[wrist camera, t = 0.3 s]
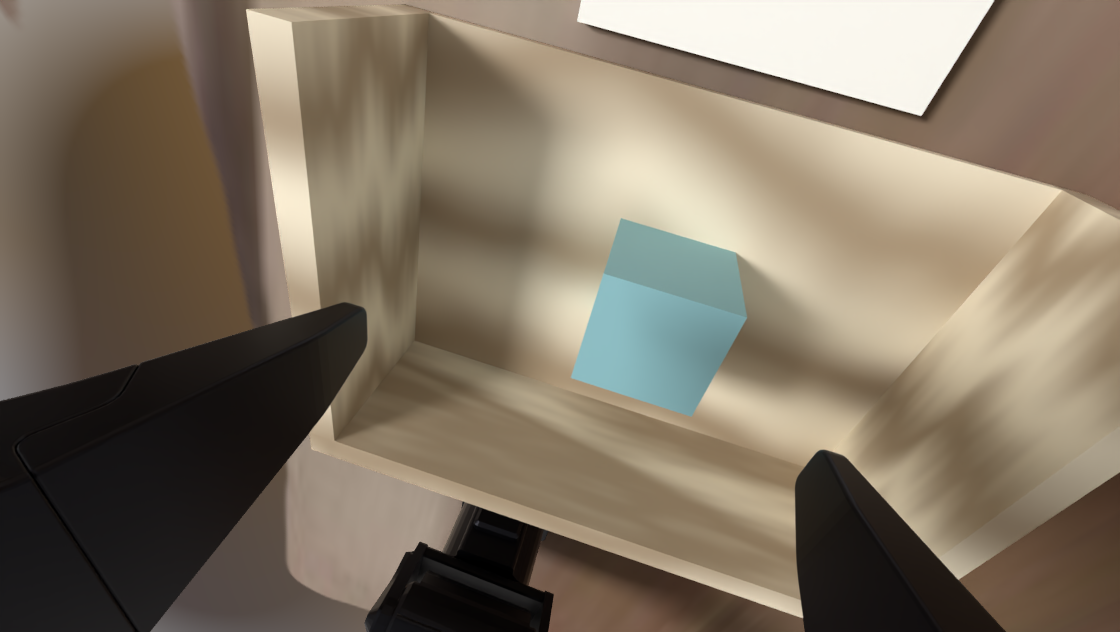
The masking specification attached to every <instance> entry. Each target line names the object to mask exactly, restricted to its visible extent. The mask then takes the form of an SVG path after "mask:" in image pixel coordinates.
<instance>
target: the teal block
mask: <svg viewBox="0 0 1120 632" xmlns="http://www.w3.org/2000/svg"><path fill="white" fill-rule="evenodd" d="M746 319H747V314H746V308H745V303H744V297H743V291H742V285H741V280H740V274H739V268H738V263H737V257H736V252H733V251H729V250H726V249H722V248H719V247H716V246H712V245H709V244H706V243H702V242H699V241H696V240H692V239H689V238H686V237H682V236H679V235H676V234H672V233H669V232H666V231H662V230H659V229H656V228H652V227H649V226H646V225H642V224H639V223H636V222H632V221H629V220H626V219H622V218H621V220H620V223H619V226H618V229H617V232H616V235H615V239H614V242H613V245H612V248H611V251H610V254H609V258H608V261H607V264H606V267H605V270H604V274H603V277H602V280H601V283H600V286H599V289H598V293H597V296H596V299H595V302H594V305H593V309H592V312H591V315H590V318H589V321H588V324H587V328H586V331H585V334H584V337H583V340H582V344H581V347H580V350H579V353H578V356H577V359H576V363H575V366H574V369H573V372H572V375H571V378H572V379H576V380H579V381H582V382H585V383H588V384H591V385H594V386H597V387H600V388H603V389H607V390H610V391H613V392H616V393H619V394H622V395H625V396H628V397H631V398H635V399H638V400H641V401H644V402H647V403H650V404H653V405H656V406H659V407H662V408H666V409H669V410H672V411H675V412H678V413H681V414H684V415H687V416H690V417H692V415H693V413H694V412H695V410H696V408H697V406H698V404H699V403H700V401H701V399H702V397H703V396H704V394H705V392H706V390H707V388H708V387H709V385H710V383H711V381H712V379H713V378H714V376H715V374H716V372H717V371H718V369H719V367H720V365H721V363H722V362H723V360H724V358H725V356H726V354H727V353H728V351H729V349H730V347H731V346H732V344H733V342H734V340H735V338H736V337H737V335H738V333H739V331H740V329H741V328H742V326H743V324H744V322H745V321H746Z"/></svg>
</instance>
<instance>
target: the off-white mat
mask: <svg viewBox="0 0 1120 632" xmlns="http://www.w3.org/2000/svg"><path fill="white" fill-rule="evenodd" d="M993 2H994V0H581V5H580V10H579V15H578V20H577V21H578V22H581V23H585V24H589V25H592V26H596V27H599V28H603V29H607V30H610V31H614V32H618V33H621V34H625V35H629V36H632V37H636V38H639V39H643V40H647V41H650V42H654V43H658V44H661V45H665V46H669V47H672V48H676V49H679V50H683V51H687V52H690V53H694V54H698V55H701V56H705V57H709V58H712V59H716V60H719V61H723V62H727V63H730V64H734V65H738V66H741V67H745V68H748V69H752V70H756V71H759V72H763V73H767V74H770V75H774V76H778V77H781V78H785V79H788V80H792V81H796V82H799V83H803V84H807V85H810V86H814V87H818V88H821V89H825V90H828V91H832V92H836V93H839V94H843V95H847V96H850V97H854V98H857V99H861V100H865V101H868V102H872V103H876V104H879V105H883V106H887V107H890V108H894V109H897V110H901V111H905V112H908V113H912V114H916V115H919V116H922V114H923V112H924V111H925V109H926V108H927V106H928V105H929V103H930V101H931V100H932V98H933V97H934V95H935V93H936V92H937V90H938V89H939V87H940V86H941V84H942V82H943V81H944V79H945V78H946V76H947V74H948V73H949V71H950V70H951V68H952V67H953V65H954V63H955V62H956V60H957V59H958V57H959V56H960V54H961V52H962V51H963V49H964V48H965V46H966V44H967V43H968V41H969V40H970V38H971V37H972V35H973V33H974V32H975V30H976V29H977V27H978V25H979V24H980V22H981V21H982V19H983V18H984V16H985V14H986V13H987V11H988V10H989V8H990V7H991V5H992V3H993Z"/></svg>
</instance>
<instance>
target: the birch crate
mask: <svg viewBox="0 0 1120 632" xmlns="http://www.w3.org/2000/svg"><path fill="white" fill-rule="evenodd" d="M246 12H247V19H248V25H249V32H250V39H251V46H252V52H253V59H254V66H255V72H256V79H257V86H258V93H259V99H260V106H261V113H262V119H263V126H264V133H265V140H266V146H267V153H268V160H269V167H270V173H271V180H272V187H273V193H274V200H275V207H276V214H277V220H278V227H279V234H280V240H281V247H282V254H283V261H284V267H285V274H286V281H287V288H288V294H289V301H290V308H291V314H292V317H295V316H298V315H302V314H305V313H308V312H312V311H315V310H318V309H322V308H325V307H328V306H332V305H335V304H338V303H342V302H348V303H352V304H355V305H358V306H361V307H363V308H365V310H366V312H367V333H368V341H367V346H366V349H365V351H364V353H363V354H362V356H361V357H360V359H359V361H358V362H357V364H356V365H355V367H354V368H353V370H352V372H351V373H350V375H349V376H348V378H347V380H346V381H345V383H344V384H343V386H342V387H341V389H340V391H339V392H338V394H337V395H336V397H335V399H334V400H333V402H332V403H331V405H330V406H329V408H328V409H327V411H326V412H325V413H324V415H323V416H322V417H321V419H320V420H319V421H318V423H317V424H316V425H315V426H314V428H313V429H312V430H311V431H310V433H309V435H310V442H311V449H312V450H315V451H318V452H320V453H323V454H326V455H329V456H332V457H335V458H338V459H341V460H344V461H347V462H350V463H353V464H355V465H358V466H361V467H364V468H367V469H370V470H373V471H376V472H379V473H382V474H385V475H387V476H390V477H393V478H396V479H399V480H402V481H405V482H408V483H411V484H414V485H417V486H420V487H422V488H425V489H428V490H431V491H434V492H437V493H440V494H443V495H446V496H449V497H452V498H454V499H457V500H460V501H463V502H466V503H469V504H472V505H475V506H478V507H481V508H484V509H487V510H489V511H492V512H495V513H498V514H501V515H504V516H507V517H510V518H513V519H516V520H519V521H521V522H524V523H527V524H530V525H533V526H536V527H539V528H542V529H545V530H548V531H551V532H554V533H556V534H559V535H562V536H565V537H568V538H571V539H574V540H577V541H580V542H583V543H586V544H588V545H591V546H594V547H597V548H600V549H603V550H606V551H609V552H612V553H615V554H618V555H621V556H623V557H626V558H629V559H632V560H635V561H638V562H641V563H644V564H647V565H650V566H653V567H655V568H658V569H661V570H664V571H667V572H670V573H673V574H676V575H679V576H682V577H685V578H688V579H690V580H693V581H696V582H699V583H702V584H705V585H708V586H711V587H714V588H717V589H720V590H722V591H725V592H728V593H731V594H734V595H737V596H740V597H743V598H746V599H749V600H752V601H755V602H757V603H760V604H763V605H766V606H769V607H772V608H775V609H778V610H781V611H784V612H787V613H789V614H792V615H795V616H798V617H801V618H803V613H802V606H801V598H800V590H799V583H798V574H797V564H796V530H795V482H796V479H797V477H798V475H799V473H800V472H801V471H802V470H803V468H804V467H805V466H806V465H807V463H808V462H809V461H810V459H811V458H812V457H813V456H814V454H815V453H816V452H817V451H819V450H823V449H824V450H828V451H832V452H835V453H838V454H841V455H843V456H845V457H846V458H847V459H848V460H849V461H850V462H851V463H852V464H853V465H854V466H855V467H856V469H857V470H858V471H859V472H860V473H861V474H862V475H863V476H864V477H865V478H866V479H867V481H868V482H869V483H870V484H871V485H872V486H873V487H874V488H875V489H876V490H877V492H878V493H879V494H880V495H881V496H882V497H883V498H884V499H885V500H886V501H887V502H888V504H889V505H890V506H891V507H892V508H893V509H894V510H895V511H896V512H897V513H898V514H899V516H900V517H901V518H902V519H903V520H904V521H905V522H906V523H907V524H908V525H909V526H910V528H911V529H912V530H913V531H914V532H915V533H916V534H917V535H918V536H919V537H920V538H921V540H922V541H923V542H924V543H925V544H926V545H927V546H928V547H929V548H930V549H931V551H932V552H933V553H934V554H935V555H936V556H937V557H938V558H939V559H940V560H941V561H942V563H943V564H944V565H945V566H946V567H947V568H948V569H949V570H950V571H951V572H952V573H953V575H954V576H955V577H956V578H957V579H958V580H959V579H960V578H962V577H963V576H965V575H966V574H968V573H969V572H971V571H972V570H974V569H975V568H977V567H978V566H980V565H981V564H983V563H984V562H986V561H987V560H989V559H990V558H992V557H993V556H995V555H996V554H998V553H999V552H1001V551H1002V550H1004V549H1005V548H1007V547H1008V546H1010V545H1011V544H1013V543H1014V542H1016V541H1017V540H1019V539H1020V538H1022V537H1023V536H1025V535H1026V534H1028V533H1029V532H1031V531H1032V530H1034V529H1035V528H1037V527H1038V526H1040V525H1041V524H1043V523H1044V522H1046V521H1047V520H1049V519H1050V518H1052V517H1053V516H1055V515H1056V514H1058V513H1059V512H1061V511H1062V510H1064V509H1065V508H1067V507H1068V506H1070V505H1071V504H1073V503H1074V502H1076V501H1077V500H1079V499H1080V498H1082V497H1083V496H1085V495H1086V494H1088V493H1089V492H1091V491H1092V490H1094V489H1095V488H1097V487H1098V486H1100V485H1101V484H1103V483H1104V482H1106V481H1107V480H1109V479H1110V478H1112V477H1113V476H1115V475H1116V474H1118V473H1119V472H1120V211H1119V210H1117V209H1115V208H1113V207H1111V206H1109V205H1107V204H1105V203H1103V202H1101V201H1099V200H1097V199H1095V198H1093V197H1091V196H1089V195H1086V194H1082V193H1079V192H1075V191H1072V190H1068V189H1064V188H1061V187H1057V186H1054V185H1050V184H1047V183H1043V182H1039V181H1036V180H1032V179H1029V178H1025V177H1021V176H1018V175H1014V174H1011V173H1007V172H1004V171H1000V170H996V169H993V168H989V167H986V166H982V165H978V164H975V163H971V162H968V161H964V160H961V159H957V158H953V157H950V156H946V155H943V154H939V153H936V152H932V151H928V150H925V149H921V148H918V147H914V146H910V145H907V144H903V143H900V142H896V141H893V140H889V139H885V138H882V137H878V136H875V135H871V134H867V133H864V132H860V131H857V130H853V129H850V128H846V127H842V126H839V125H835V124H832V123H828V122H824V121H821V120H817V119H814V118H810V117H807V116H803V115H799V114H796V113H792V112H789V111H785V110H782V109H778V108H774V107H771V106H767V105H764V104H760V103H756V102H753V101H749V100H746V99H742V98H739V97H735V96H731V95H728V94H724V93H721V92H717V91H713V90H710V89H706V88H703V87H699V86H696V85H692V84H688V83H685V82H681V81H678V80H674V79H671V78H667V77H663V76H660V75H656V74H653V73H649V72H645V71H642V70H638V69H635V68H631V67H628V66H624V65H620V64H617V63H613V62H610V61H606V60H602V59H599V58H595V57H592V56H588V55H585V54H581V53H577V52H574V51H570V50H567V49H563V48H560V47H556V46H552V45H549V44H545V43H542V42H538V41H534V40H531V39H527V38H524V37H520V36H517V35H513V34H509V33H506V32H502V31H499V30H495V29H491V28H488V27H484V26H481V25H477V24H474V23H470V22H466V21H463V20H459V19H456V18H452V17H449V16H445V15H441V14H438V13H434V12H431V11H427V10H423V9H420V8H416V7H413V6H409V5H406V4H403V5H369V6H335V7H302V8H268V9H246ZM621 218H622V219H626V220H629V221H632V222H636V223H639V224H642V225H646V226H649V227H652V228H656V229H659V230H662V231H666V232H669V233H672V234H676V235H679V236H682V237H686V238H689V239H692V240H696V241H699V242H702V243H706V244H709V245H712V246H716V247H719V248H722V249H726V250H729V251H733V252H736V257H737V263H738V268H739V274H740V280H741V285H742V291H743V297H744V303H745V308H746V314H747V319H746V321H745V322H744V324H743V326H742V328H741V329H740V331H739V333H738V335H737V337H736V338H735V340H734V342H733V344H732V346H731V347H730V349H729V351H728V353H727V354H726V356H725V358H724V360H723V362H722V363H721V365H720V367H719V369H718V371H717V372H716V374H715V376H714V378H713V379H712V381H711V383H710V385H709V387H708V388H707V390H706V392H705V394H704V396H703V397H702V399H701V401H700V403H699V404H698V406H697V408H696V410H695V412H694V413H693V415H692V417H690V416H687V415H684V414H681V413H678V412H675V411H672V410H669V409H666V408H662V407H659V406H656V405H653V404H650V403H647V402H644V401H641V400H638V399H635V398H631V397H628V396H625V395H622V394H619V393H616V392H613V391H610V390H607V389H603V388H600V387H597V386H594V385H591V384H588V383H585V382H582V381H579V380H576V379H572V378H571V375H572V372H573V369H574V366H575V363H576V359H577V356H578V353H579V350H580V347H581V344H582V340H583V337H584V334H585V331H586V328H587V324H588V321H589V318H590V315H591V312H592V309H593V305H594V302H595V299H596V296H597V293H598V289H599V286H600V283H601V280H602V277H603V274H604V270H605V267H606V264H607V261H608V258H609V254H610V251H611V248H612V245H613V242H614V239H615V235H616V232H617V229H618V226H619V223H620V220H621Z"/></svg>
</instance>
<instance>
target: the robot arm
mask: <svg viewBox="0 0 1120 632" xmlns="http://www.w3.org/2000/svg"><path fill="white" fill-rule="evenodd" d="M367 341H368V333H367V312H366V310H365V308H363V307H361V306H358V305H355V304H352V303H348V302H342V303H338V304H335V305H332V306H328V307H325V308H322V309H318V310H315V311H312V312H308V313H305V314H302V315H298V316H295V317H292V318H288V319H285V320H282V321H278V322H275V323H272V324H268V325H265V326H262V327H258V328H255V329H252V330H248V331H245V332H242V333H238V334H235V335H232V336H228V337H225V338H222V339H218V340H215V341H212V342H208V343H205V344H202V345H198V346H195V347H192V348H188V349H185V350H182V351H178V352H175V353H172V354H169V355H165V356H161V357H158V358H155V359H152V360H148V361H145V362H142V363H140V365H131V366H128V367H125V368H121V369H118V370H115V371H111V372H108V373H104V374H101V375H97V376H94V377H90V378H87V379H84V380H80V381H76V382H73V383H69V384H66V385H62V386H58V387H54V388H51V389H46V390H42V391H39V392H35V393H31V394H27V395H23V396H19V397H15V398H11V399H7V400H3V401H0V632H150V631H151V630H152V629H153V627H154V626H155V625H156V624H157V622H158V621H159V620H160V619H161V617H162V616H163V615H164V614H165V612H166V611H167V610H168V609H169V607H170V606H171V605H172V604H173V602H174V601H175V600H176V599H177V597H178V596H179V595H180V593H181V592H182V591H183V590H184V589H185V587H186V586H187V585H188V584H189V582H190V581H191V580H192V579H193V577H194V576H195V575H196V574H197V572H198V571H199V570H200V569H201V567H202V566H203V565H204V564H205V562H206V561H207V560H208V559H209V557H210V556H211V555H212V554H213V552H214V551H215V550H216V549H217V547H218V546H219V545H220V544H221V542H222V541H223V540H224V539H225V537H226V536H227V535H228V534H229V532H230V531H231V530H232V529H233V527H234V526H235V525H236V524H237V523H238V521H239V520H240V519H241V518H242V516H243V515H244V514H245V513H246V511H247V510H248V509H249V507H250V506H251V505H252V504H253V503H254V501H255V500H256V499H257V497H258V496H259V495H260V494H261V493H262V491H263V490H264V489H265V487H266V486H267V485H268V484H269V483H270V481H271V480H272V479H273V478H274V476H275V475H276V474H277V472H278V471H279V470H280V469H281V468H282V466H283V465H284V464H285V463H286V461H287V460H288V459H289V458H290V456H291V455H292V454H293V453H294V451H295V450H296V449H297V448H298V446H299V445H300V444H301V443H302V441H303V440H304V439H305V438H306V436H307V435H308V434H309V433H310V431H311V430H312V429H313V428H314V426H315V425H316V424H317V423H318V421H319V420H320V419H321V417H322V416H323V415H324V413H325V412H326V411H327V409H328V408H329V406H330V405H331V403H332V402H333V400H334V399H335V397H336V395H337V394H338V392H339V391H340V389H341V387H342V386H343V384H344V383H345V381H346V380H347V378H348V376H349V375H350V373H351V372H352V370H353V368H354V367H355V365H356V364H357V362H358V361H359V359H360V357H361V356H362V354H363V353H364V351H365V349H366V346H367ZM795 530H796V564H797V574H798V583H799V590H800V598H801V606H802V613H803V621H804V629H805V632H1006V631H1005V630H1004V629H1003V628H1002V627H1001V626H1000V625H999V624H998V623H997V622H996V620H995V619H994V618H993V617H992V616H991V615H990V614H989V613H988V612H987V611H986V610H985V608H984V607H983V606H982V605H981V604H980V603H979V602H978V601H977V600H976V599H975V598H974V596H973V595H972V594H971V593H970V592H969V591H968V590H967V589H966V588H965V587H964V585H963V584H962V583H961V582H960V581H959V580H958V579H957V578H956V577H955V576H954V575H953V573H952V572H951V571H950V570H949V569H948V568H947V567H946V566H945V565H944V564H943V563H942V561H941V560H940V559H939V558H938V557H937V556H936V555H935V554H934V553H933V552H932V551H931V549H930V548H929V547H928V546H927V545H926V544H925V543H924V542H923V541H922V540H921V538H920V537H919V536H918V535H917V534H916V533H915V532H914V531H913V530H912V529H911V528H910V526H909V525H908V524H907V523H906V522H905V521H904V520H903V519H902V518H901V517H900V516H899V514H898V513H897V512H896V511H895V510H894V509H893V508H892V507H891V506H890V505H889V504H888V502H887V501H886V500H885V499H884V498H883V497H882V496H881V495H880V494H879V493H878V492H877V490H876V489H875V488H874V487H873V486H872V485H871V484H870V483H869V482H868V481H867V479H866V478H865V477H864V476H863V475H862V474H861V473H860V472H859V471H858V470H857V469H856V467H855V466H854V465H853V464H852V463H851V462H850V461H849V460H848V459H847V458H846V457H845V456H843V455H841V454H838V453H835V452H832V451H828V450H824V449H823V450H819V451H817V452H816V453H815V454H814V456H813V457H812V458H811V459H810V461H809V462H808V463H807V465H806V466H805V467H804V468H803V470H802V471H801V472H800V473H799V475H798V477H797V479H796V482H795ZM547 533H548V530H545V529H542V528H539V527H536V526H533V525H530V524H527V523H524V522H521V521H519V520H516V519H513V518H510V517H507V516H504V515H501V514H498V513H495V512H492V511H489V510H487V509H484V508H481V507H478V506H475V505H472V504H469V503H466V502H463V503H462V509H461V511H460V514H459V516H458V518H457V520H456V522H455V525H454V527H453V529H452V531H451V534H450V536H449V538H448V540H447V543H446V545H445V547H444V549H443V552H441V551H438V550H435V549H433V548H430V547H428V545H427V544H425V543H422V542H419V544H418V545H417V547H416V549H415V550H414V551H413V552H406V553H405V555H404V557H403V559H402V561H401V563H400V565H399V567H398V569H397V571H396V572H395V574H394V576H393V578H392V579H391V581H390V583H389V584H388V586H387V587H386V588H385V590H384V591H383V593H382V594H381V596H380V597H379V599H378V600H377V602H376V603H375V605H374V606H373V607H372V609H371V610H370V612H369V614H368V616H367V618H366V620H365V627H366V631H367V632H548V629H549V622H550V616H551V609H552V603H553V596H554V594H552V593H550V592H547V591H545V592H543V591H540V590H537V589H535V588H532V587H530V586H528V585H529V582H530V578H531V574H532V571H533V567H534V563H535V560H536V556H537V553H538V549H539V545H540V542H541V541H543V540H545V538H546V536H547Z"/></svg>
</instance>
